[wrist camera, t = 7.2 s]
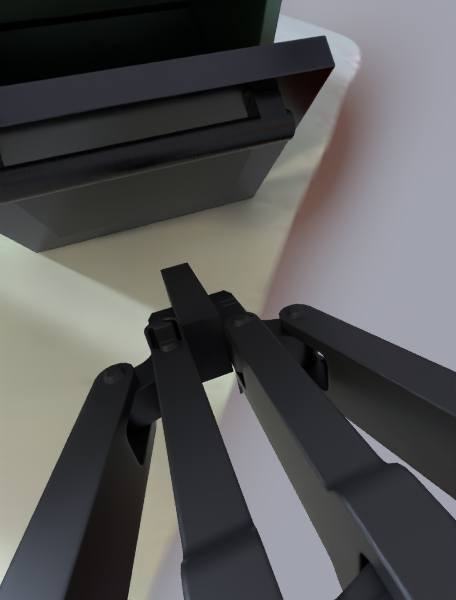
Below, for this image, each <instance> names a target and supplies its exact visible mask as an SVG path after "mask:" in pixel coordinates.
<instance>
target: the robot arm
mask: <svg viewBox="0 0 456 600" xmlns="http://www.w3.org/2000/svg"><path fill="white" fill-rule="evenodd" d="M161 274H162V277H163V280H164V283H165V287H166V290H167V293H168V296H169V300H170V303H171V306H172V307H171V308H167V309H164V310H161V311H158V312H154V313H152V314H151V316H150V317H149V319H148V322H149V324H148V325H147V327H146V328H145V330H144V334H145V336H146V339H147V342H148V345H149V347H150V350H151V356H150V357H149V358H148V359H147V360H146V361H145V362H143V363H142V364H140V365H138V366H137V367H135V368H134V367H133V366H132V365H131V364H128V363H119V364H115V365H112V366H110V367H108V368H106V369H105V370H103V371H102V372H101V373H100V374H99V375H98V376H97V378H96V379H95V381H94V383H93V385H92V387H91V390H90V392H89V394H88V396H87V398H86V400H85V403H84V405H83V407H82V409H81V411H80V413H79V416H78V418H77V420H76V422H75V424H74V426H73V429H72V431H71V433H70V435H69V437H68V440H67V442H66V444H65V446H64V448H63V450H62V453H61V455H60V457H59V459H58V461H57V463H56V466H55V468H54V470H53V472H52V474H51V477H50V479H49V481H48V483H47V485H46V487H45V490H44V492H43V494H42V496H41V498H40V500H39V503H38V505H37V507H36V509H35V511H34V513H33V516H32V518H31V520H30V522H29V524H28V527H27V529H26V531H25V533H24V535H23V537H22V540H21V542H20V544H19V546H18V548H17V550H16V553H15V555H14V557H13V559H12V561H11V563H10V566H9V568H8V570H7V572H6V574H5V577H4V579H3V581H2V583H1V585H0V600H127V599H128V593H129V587H130V581H131V575H132V569H133V563H134V557H135V551H136V545H137V539H138V533H139V527H140V521H141V515H142V509H143V504H144V498H145V492H146V486H147V480H148V474H149V468H150V462H151V456H152V450H153V444H154V438H155V432H156V420H157V419H159V418H160V417H162V423H163V430H164V436H165V442H166V449H167V455H168V461H169V467H170V474H171V480H172V486H173V492H174V499H175V505H176V511H177V517H178V524H179V530H180V536H181V542H182V549H183V561H182V563H181V579H182V587H183V595H184V600H283V597H282V594H281V592H280V589H279V587H278V584H277V581H276V578H275V576H274V573H273V570H272V567H271V565H270V562H269V559H268V557H267V554H266V551H265V549H264V546H263V543H262V541H261V538H260V535H259V533H258V531H257V528H256V527H255V526H254V523H253V521H252V518H251V515H250V513H249V510H248V507H247V505H246V502H245V499H244V496H243V494H242V491H241V488H240V485H239V483H238V480H237V477H236V474H235V472H234V469H233V466H232V464H231V461H230V458H229V455H228V453H227V450H226V447H225V445H224V442H223V439H222V436H221V434H220V431H219V428H218V425H217V422H216V420H215V417H214V414H213V412H212V409H211V406H210V403H209V401H208V398H207V395H206V392H205V390H204V387H203V384H202V383H203V382H206V381H209V380H211V379H214V378H217V377H220V376H222V375H225V374H228V373H231V372H233V368H232V365H233V366H234V368H235V372H236V376H237V381H238V385H239V389H240V394H241V393H243V391H244V393H245V395H246V397H247V399H248V401H249V403H250V405H251V407H252V409H253V410H254V412H255V414H256V416H257V418H258V420H259V422H260V424H261V426H262V428H263V430H264V432H265V434H266V435H267V437H268V439H269V441H270V443H271V445H272V447H273V449H274V451H275V453H276V455H277V456H278V458H279V460H280V462H281V464H282V466H283V468H284V470H285V472H286V474H287V475H288V478H289V479H290V481H291V483H292V485H293V487H294V489H295V491H296V493H297V495H298V497H299V499H300V500H301V502H302V504H303V506H304V508H305V510H306V512H307V514H308V516H309V518H310V520H311V521H312V523H313V525H314V527H315V529H316V531H317V533H318V535H319V537H320V539H321V541H322V543H323V544H324V546H325V548H326V550H327V552H328V554H329V556H330V558H331V561H332V563H333V566H334V568H335V571H336V574H337V577H338V580H339V583H340V585H341V587H342V590H343V592H342V593H341V594H340V595H339V596H338V597H337V598H336V599H335V600H456V520H455V519H454V518H453V517H452V516H451V515H450V514H449V512H448V511H447V510H446V509H445V508H444V507H443V506H442V505H441V504H440V503H439V502H438V501H437V500H436V499H435V497H434V496H433V495H432V494H431V493H430V492H429V491H428V490H427V489H426V488H425V486H424V485H423V484H422V483H421V482H420V481H419V480H418V479H417V478H416V477H415V476H414V475H413V474H412V473H411V472H410V471H409V470H408V469H407V468H405V467H404V466H402V465H400V464H398V463H390V464H388V463H386V462H384V461H383V460H382V459H381V458H380V457H379V456H378V455H377V454H376V453H375V451H374V450H373V449H372V448H371V447H370V446H369V444H368V443H367V442H366V441H365V440H364V439H363V437H362V436H361V435H360V434H359V433H358V432H357V431H356V429H355V428H354V427H353V426H352V425H351V424H350V422H349V421H348V420H347V419H349V420H350V421H352V422H353V423H354V424H356V425H357V426H358V427H359V428H361V429H362V430H363V431H365V432H366V433H367V434H369V435H370V436H371V437H373V438H374V439H375V440H377V441H378V442H379V443H381V444H382V445H383V446H385V447H386V448H387V449H389V450H390V451H391V452H393V453H394V454H395V455H397V456H398V457H399V458H401V459H402V460H403V461H405V462H406V463H407V464H409V465H410V466H411V467H413V468H414V469H415V470H417V471H418V472H419V473H421V474H422V475H423V476H424V477H426V478H427V479H429V480H430V481H431V482H433V483H434V484H435V485H436V486H438V487H439V488H440V489H442V490H443V491H444V492H446V493H447V494H448V495H450V496H451V497H453V498H454V499H455V500H456V372H454V371H452V370H450V369H448V368H446V367H443V366H441V365H439V364H437V363H434V362H432V361H430V360H427V359H426V358H423V357H421V356H419V355H416V354H415V353H412V352H410V351H408V350H406V349H404V348H401V347H399V346H397V345H394V344H392V343H390V342H388V341H386V340H384V339H381V338H379V337H377V336H375V335H372V334H370V333H368V332H366V331H364V330H362V329H359V328H357V327H355V326H353V325H350V324H348V323H346V322H344V321H342V320H339V319H337V318H335V317H333V316H331V315H328V314H326V313H324V312H322V311H320V310H317V309H315V308H313V307H311V306H308V305H304V304H293V305H290V306H287V307H285V308H283V309H282V310H281V311H280V313H279V318H280V319H272V320H261V319H260V318H259V317H258V316H257V315H256V314H254V313H250V312H246V311H245V309H244V308H243V307H242V306H241V304H240V303H239V302H238V301H237V300H236V298H235V297H234V296H233V295H232V294H231V293H230V292H227V291H224V290H223V291H220V292H217V293H213V294H210V295H208V294H207V293H206V291H205V290H204V288H203V286H202V285H201V283H200V282H199V280H198V279H197V277H196V275H195V274H194V272H193V271H192V269H191V268H190V266H189V265H188V263H184V264H180V265H177V266H173V267H170V268H166V269H162V270H161ZM318 352H320V353H321V354H322V355H323V356H324V357H323V356H321V355H319V354H318ZM344 416H345V417H346V418H347V419H346V418H345V417H344Z"/></svg>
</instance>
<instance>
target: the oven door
mask: <svg viewBox="0 0 456 600" xmlns="http://www.w3.org/2000/svg"><path fill="white" fill-rule="evenodd" d="M334 67H335V63H334V60H333V57H332V54H331V51H330V48H329V45H328V42H327V39H326V36H317V37H311V38H305V39H298V40H292V41H286V42H279V43H273V44H267V45H260V46H254V47H248V48H242V49H235V50H229V51H223V52H216V53H210V54H204V55H197V56H191V57H185V58H178V59H172V60H166V61H159V62H153V63H147V64H140V65H134V66H128V67H122V68H115V69H109V70H103V71H96V72H90V73H84V74H77V75H71V76H65V77H58V78H52V79H46V80H39V81H33V82H27V83H20V84H14V85H8V86H1V87H0V234H2V235H4V236H6V237H8V238H10V239H11V240H13V241H15V242H17V243H19V244H21V245H23V246H25V247H27V248H28V249H30V250H32V251H34V252H36V253H38V252H41V251H45V250H49V249H53V248H57V247H61V246H65V245H69V244H73V243H77V242H81V241H84V240H88V239H92V238H96V237H100V236H104V235H108V234H112V233H116V232H120V231H123V230H127V229H131V228H135V227H139V226H143V225H147V224H151V223H155V222H159V221H163V220H166V219H170V218H174V217H178V216H182V215H186V214H190V213H194V212H198V211H202V210H205V209H209V208H213V207H217V206H221V205H225V204H229V203H233V202H237V201H241V200H245V199H248V198H252V197H254V195H255V194H256V192H257V190H258V189H259V187H260V186H261V184H262V182H263V181H264V179H265V178H266V176H267V174H268V173H269V171H270V170H271V168H272V166H273V165H274V163H275V161H276V160H277V158H278V157H279V155H280V153H281V152H282V150H283V149H284V147H285V145H286V144H287V142H288V141H289V140H291V139H292V138H293V136H294V134H295V129H296V128H297V126H298V125H299V123H300V121H301V120H302V118H303V117H304V115H305V113H306V112H307V110H308V109H309V107H310V105H311V104H312V102H313V101H314V99H315V97H316V96H317V94H318V93H319V91H320V89H321V88H322V86H323V85H324V83H325V81H326V80H327V78H328V77H329V75H330V73H331V72H332V70H333V69H334Z"/></svg>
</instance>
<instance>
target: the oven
mask: <svg viewBox="0 0 456 600" xmlns="http://www.w3.org/2000/svg"><path fill="white" fill-rule="evenodd" d="M281 2H282V0H0V87H1V86H8V85H14V84H20V83H27V82H33V81H39V80H46V79H52V78H58V77H65V76H71V75H77V74H84V73H90V72H96V71H103V70H109V69H115V68H122V67H128V66H134V65H140V64H147V63H153V62H159V61H166V60H172V59H178V58H185V57H191V56H197V55H204V54H210V53H216V52H223V51H229V50H235V49H242V48H248V47H254V46H260V45H267V44H273V43H274V38H275V33H276V28H277V22H278V17H279V12H280V6H281Z"/></svg>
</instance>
